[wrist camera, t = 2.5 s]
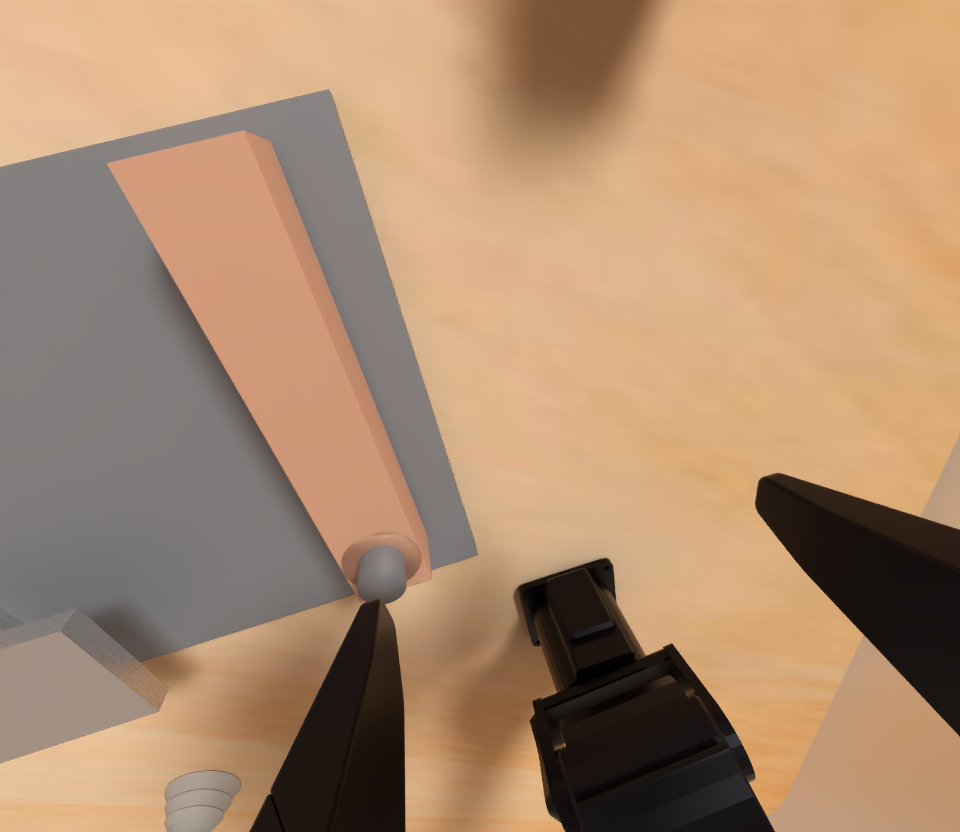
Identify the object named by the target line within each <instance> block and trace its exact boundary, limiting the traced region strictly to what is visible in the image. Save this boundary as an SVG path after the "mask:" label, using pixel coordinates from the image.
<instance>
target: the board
mask: <svg viewBox="0 0 960 832" xmlns="http://www.w3.org/2000/svg"><path fill="white" fill-rule="evenodd" d="M243 130H244V131H247V132H249V133H251V134H254V135H256V136H258V137H261V138H263V139H265V140H268V141H270V142H271V143H272V146H273V148H274V151H275V153H276V156H277V158H278V161H279V163H280V166H281V168H282V171H283V173H284V176H285V178H286V181H287V183H288V186H289V189H290V191H291V194H292V196H293V199H294V201H295V204H296V206H297V209H298V211H299V214H300V216H301V219H302V221H303V224H304V226H305V229H306V231H307V234H308V236H309V239H310V241H311V244H312V246H313V249H314V251H315V254H316V257H317V259H318V262H319V264H320V267H321V269H322V272H323V274H324V277H325V279H326V282H327V284H328V287H329V289H330V292H331V294H332V297H333V299H334V302H335V304H336V307H337V309H338V312H339V314H340V317H341V319H342V322H343V325H344V327H345V330H346V332H347V335H348V337H349V340H350V342H351V345H352V347H353V350H354V352H355V355H356V357H357V360H358V362H359V365H360V367H361V370H362V372H363V375H364V377H365V380H366V382H367V385H368V387H369V390H370V393H371V395H372V398H373V400H374V403H375V405H376V408H377V410H378V413H379V415H380V418H381V420H382V423H383V425H384V428H385V430H386V433H387V435H388V438H389V440H390V443H391V445H392V448H393V450H394V453H395V455H396V458H397V461H398V463H399V466H400V468H401V471H402V473H403V476H404V478H405V481H406V483H407V486H408V488H409V491H410V493H411V496H412V498H413V501H414V503H415V506H416V508H417V511H418V513H419V516H420V518H421V521H422V523H423V526H424V529H425V531H426V534H427V540H428V548H429V557H430V565H431V570H433V569H436V568H439V567H442V566H445V565H448V564H452V563H455V562H458V561H461V560H464V559H467V558H470V557H474V556H477V555H478V553H477V549H476V545H475V541H474V538H473V535H472V532H471V529H470V526H469V522H468V519H467V516H466V513H465V510H464V507H463V504H462V501H461V497H460V494H459V491H458V488H457V485H456V482H455V479H454V475H453V472H452V469H451V466H450V463H449V460H448V457H447V454H446V450H445V447H444V444H443V441H442V438H441V435H440V432H439V429H438V425H437V422H436V419H435V416H434V413H433V410H432V407H431V403H430V400H429V397H428V394H427V391H426V388H425V385H424V382H423V378H422V375H421V372H420V369H419V366H418V363H417V360H416V357H415V353H414V350H413V347H412V344H411V341H410V338H409V335H408V332H407V328H406V325H405V322H404V319H403V316H402V313H401V310H400V306H399V303H398V300H397V297H396V294H395V291H394V288H393V285H392V281H391V278H390V275H389V272H388V269H387V266H386V263H385V260H384V256H383V253H382V250H381V247H380V244H379V241H378V238H377V234H376V231H375V228H374V225H373V222H372V219H371V216H370V213H369V209H368V206H367V203H366V200H365V197H364V194H363V191H362V188H361V184H360V181H359V178H358V175H357V172H356V169H355V166H354V162H353V159H352V156H351V153H350V150H349V147H348V144H347V141H346V137H345V134H344V131H343V128H342V125H341V122H340V119H339V116H338V112H337V109H336V106H335V103H334V100H333V97H332V94H331V93H330V91H329V89H327V90H323V91H319V92H315V93H311V94H306V95H302V96H298V97H294V98H289V99H285V100H281V101H277V102H273V103H268V104H264V105H260V106H256V107H251V108H247V109H243V110H239V111H235V112H230V113H226V114H222V115H218V116H213V117H209V118H205V119H201V120H197V121H192V122H188V123H184V124H180V125H175V126H171V127H167V128H163V129H159V130H154V131H150V132H146V133H142V134H137V135H133V136H129V137H125V138H121V139H116V140H112V141H108V142H104V143H99V144H95V145H91V146H87V147H83V148H78V149H74V150H70V151H66V152H61V153H57V154H53V155H49V156H45V157H40V158H36V159H32V160H28V161H23V162H19V163H15V164H11V165H7V166H2V167H0V605H1V606H2V607H4V608H5V609H6V610H7V611H9V612H10V613H11V614H12V615H14V616H15V617H16V618H18V619H19V620H20V621H21V622H23V623H24V624H26V623H29V622H32V621H36V620H39V619H42V618H45V617H49V616H52V615H55V614H58V613H62V612H65V611H68V610H72V609H75V608H79V609H80V610H81V611H82V612H83V613H84V614H85V615H87V616H88V617H89V618H90V619H91V620H92V621H93V622H95V623H96V624H97V625H98V626H99V627H100V628H101V629H102V630H104V631H105V632H106V633H107V634H108V635H109V636H110V637H112V638H113V639H114V640H115V641H116V642H117V643H118V644H119V645H121V646H122V647H123V648H124V649H125V650H126V651H127V652H129V653H130V654H131V655H132V656H133V657H134V658H135V659H136V660H138V661H139V662H142V661H146V660H149V659H152V658H155V657H158V656H161V655H165V654H168V653H171V652H174V651H177V650H180V649H183V648H187V647H190V646H193V645H196V644H199V643H202V642H206V641H209V640H212V639H215V638H218V637H221V636H224V635H228V634H231V633H234V632H237V631H240V630H243V629H247V628H250V627H253V626H256V625H259V624H262V623H265V622H269V621H272V620H275V619H278V618H281V617H284V616H288V615H291V614H294V613H297V612H300V611H303V610H306V609H310V608H313V607H316V606H319V605H322V604H325V603H329V602H332V601H335V600H338V599H341V598H344V597H347V596H351V595H354V594H355V593H354V591H353V589H352V587H351V586H350V584H349V582H348V580H347V579H346V577H345V575H344V574H343V572H342V570H341V568H340V567H339V565H338V563H337V561H336V560H335V558H334V556H333V555H332V553H331V551H330V549H329V548H328V546H327V544H326V542H325V541H324V539H323V537H322V535H321V534H320V532H319V530H318V529H317V527H316V525H315V523H314V522H313V520H312V518H311V516H310V515H309V513H308V511H307V510H306V508H305V506H304V504H303V503H302V501H301V499H300V497H299V496H298V494H297V492H296V490H295V489H294V487H293V485H292V484H291V482H290V480H289V478H288V477H287V475H286V473H285V471H284V470H283V468H282V466H281V464H280V463H279V461H278V459H277V458H276V456H275V454H274V452H273V451H272V449H271V447H270V445H269V444H268V442H267V440H266V439H265V437H264V435H263V433H262V432H261V430H260V428H259V426H258V425H257V423H256V421H255V419H254V418H253V416H252V414H251V413H250V411H249V409H248V407H247V406H246V404H245V402H244V400H243V399H242V397H241V395H240V394H239V392H238V390H237V388H236V387H235V385H234V383H233V381H232V380H231V378H230V376H229V374H228V373H227V371H226V369H225V368H224V366H223V364H222V362H221V361H220V359H219V357H218V355H217V354H216V352H215V350H214V349H213V347H212V345H211V343H210V342H209V340H208V338H207V336H206V335H205V333H204V331H203V329H202V328H201V326H200V324H199V323H198V321H197V319H196V317H195V316H194V314H193V312H192V310H191V309H190V307H189V305H188V304H187V302H186V300H185V298H184V297H183V295H182V293H181V291H180V290H179V288H178V286H177V284H176V283H175V281H174V279H173V278H172V276H171V274H170V272H169V271H168V269H167V267H166V265H165V264H164V262H163V260H162V259H161V257H160V255H159V253H158V252H157V250H156V248H155V246H154V245H153V243H152V241H151V239H150V238H149V236H148V234H147V233H146V231H145V229H144V227H143V226H142V224H141V222H140V220H139V219H138V217H137V215H136V214H135V212H134V210H133V208H132V207H131V205H130V203H129V201H128V200H127V198H126V196H125V194H124V193H123V191H122V189H121V188H120V186H119V184H118V182H117V181H116V179H115V177H114V175H113V174H112V172H111V170H110V169H109V167H108V165H107V163H110V162H114V161H118V160H122V159H126V158H130V157H135V156H139V155H143V154H147V153H151V152H155V151H160V150H164V149H168V148H172V147H176V146H180V145H184V144H189V143H193V142H197V141H201V140H205V139H209V138H214V137H218V136H222V135H226V134H230V133H234V132H239V131H243Z"/></svg>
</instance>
